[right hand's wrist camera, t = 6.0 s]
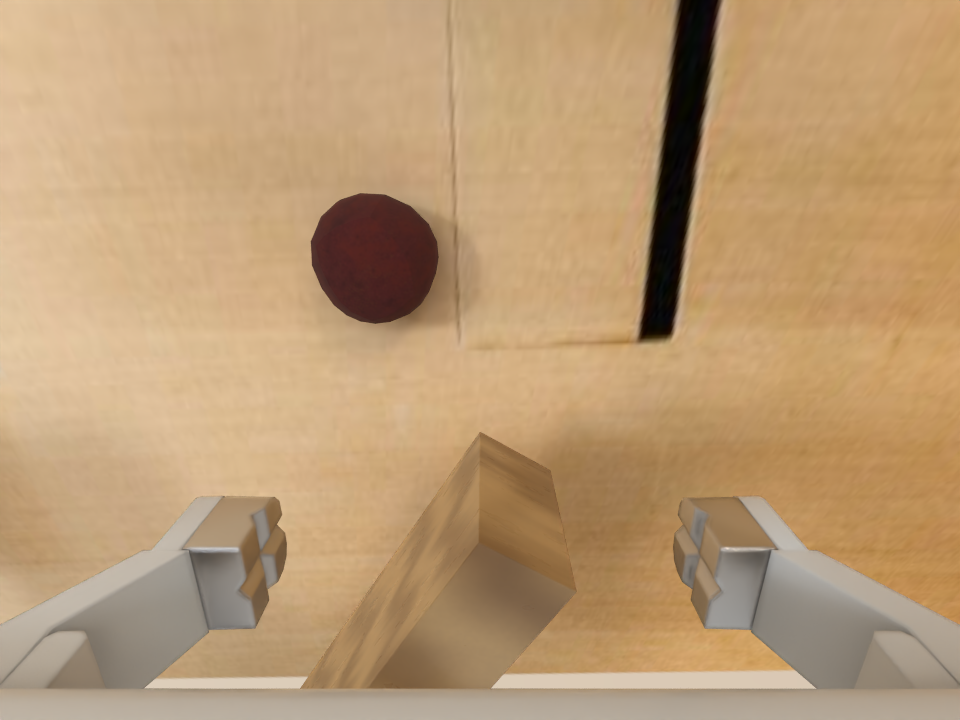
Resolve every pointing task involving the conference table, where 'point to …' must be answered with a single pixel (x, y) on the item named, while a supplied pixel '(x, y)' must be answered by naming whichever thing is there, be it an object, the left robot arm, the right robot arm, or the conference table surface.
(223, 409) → the conference table surface
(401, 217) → the dark red ball
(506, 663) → the bar
